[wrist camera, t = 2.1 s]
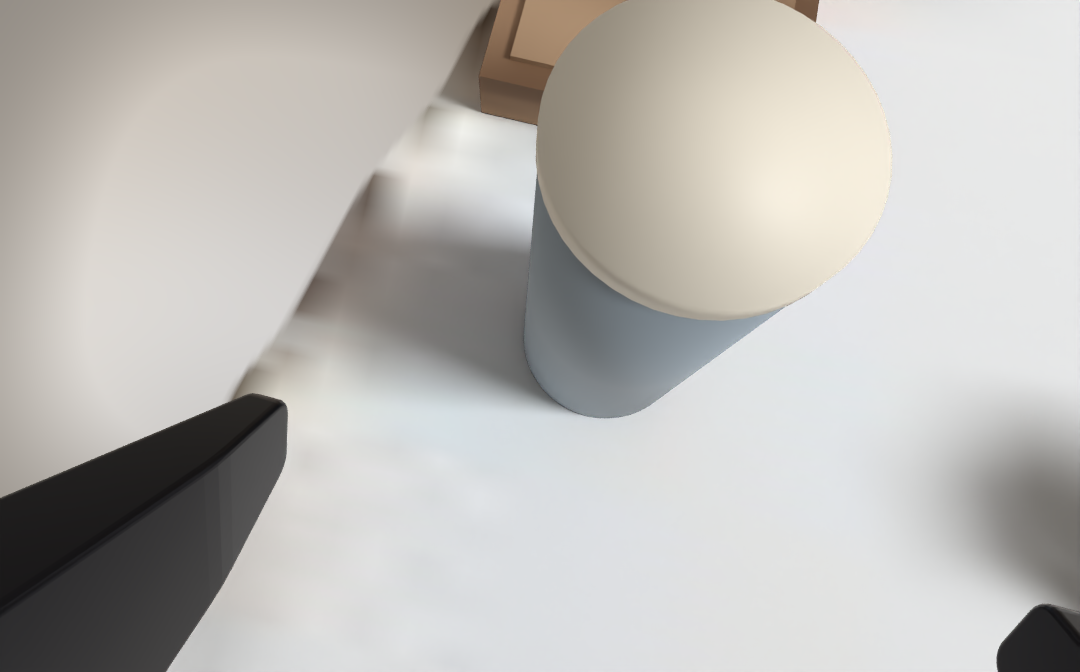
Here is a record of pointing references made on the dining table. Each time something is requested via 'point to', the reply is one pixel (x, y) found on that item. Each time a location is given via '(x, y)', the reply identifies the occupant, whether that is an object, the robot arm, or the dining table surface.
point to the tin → (690, 191)
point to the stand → (543, 49)
